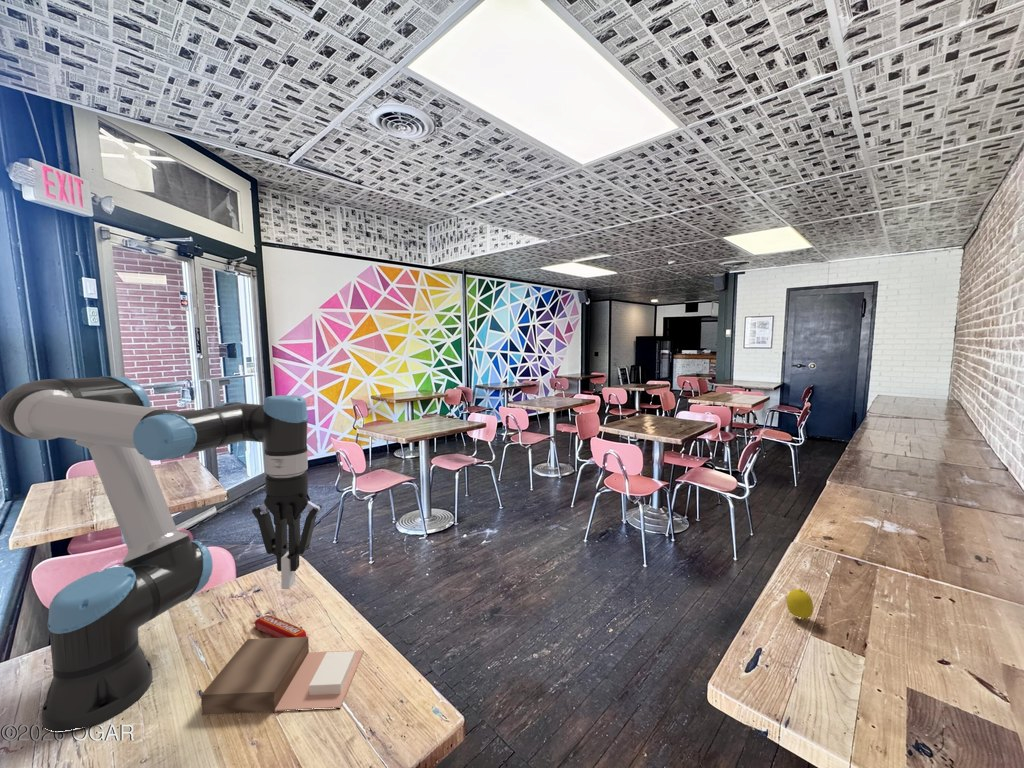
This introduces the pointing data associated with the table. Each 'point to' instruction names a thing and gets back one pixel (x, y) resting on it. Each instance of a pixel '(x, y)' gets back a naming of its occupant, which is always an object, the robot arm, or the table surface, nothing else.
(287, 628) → the candy bar
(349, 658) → the tile
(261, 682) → the serving board
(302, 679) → the mat
